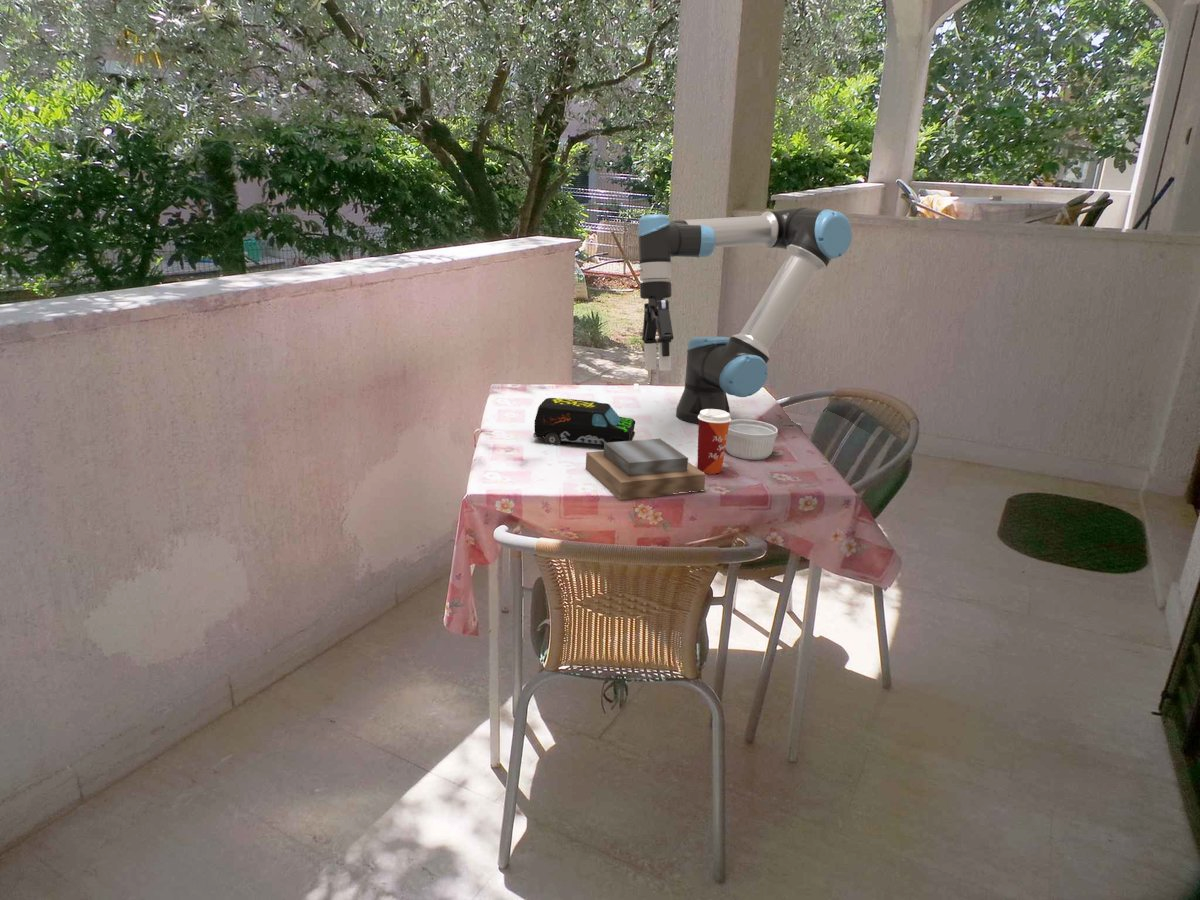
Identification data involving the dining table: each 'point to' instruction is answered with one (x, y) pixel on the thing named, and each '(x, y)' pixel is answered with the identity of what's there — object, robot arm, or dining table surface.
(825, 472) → the dining table surface
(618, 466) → the two-tone square platform
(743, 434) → the ramekin
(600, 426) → the toy van
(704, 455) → the paper cup
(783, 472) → the dining table surface
